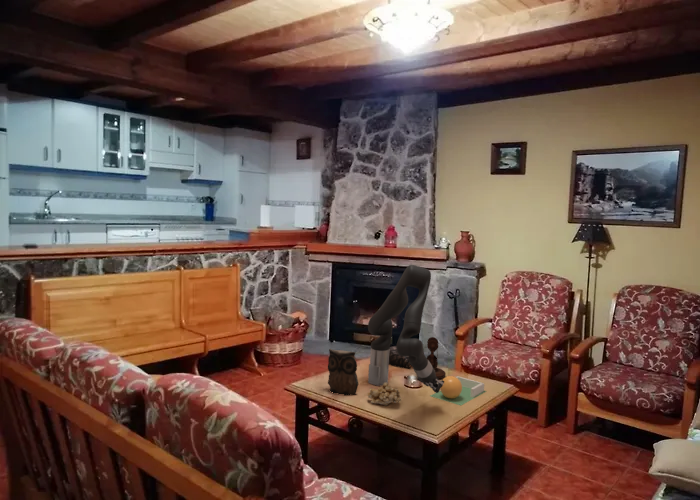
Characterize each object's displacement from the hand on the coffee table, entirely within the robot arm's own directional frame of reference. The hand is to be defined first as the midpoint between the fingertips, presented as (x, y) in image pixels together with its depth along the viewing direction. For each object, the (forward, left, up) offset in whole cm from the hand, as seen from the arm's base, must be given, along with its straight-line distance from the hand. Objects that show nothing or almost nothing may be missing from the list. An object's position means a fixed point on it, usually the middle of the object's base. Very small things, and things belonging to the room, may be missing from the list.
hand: (437, 390), depth 227 cm
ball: (+12, 0, -1) cm, 13 cm away
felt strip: (+20, 0, -7) cm, 22 cm away
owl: (-16, +40, -7) cm, 43 cm away
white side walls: (+26, 0, -6) cm, 27 cm away
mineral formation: (-14, +17, -7) cm, 24 cm away
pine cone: (+38, +45, -7) cm, 59 cm away
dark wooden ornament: (+33, +23, -7) cm, 41 cm away
